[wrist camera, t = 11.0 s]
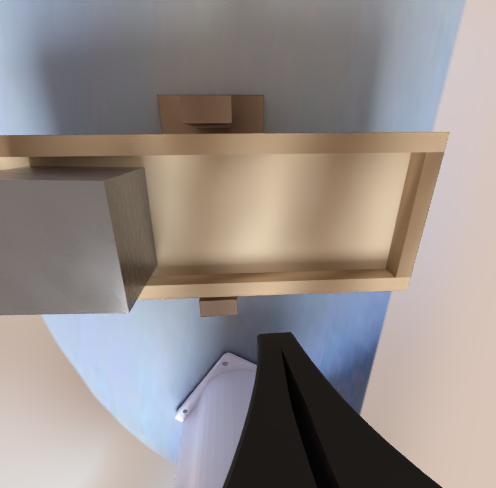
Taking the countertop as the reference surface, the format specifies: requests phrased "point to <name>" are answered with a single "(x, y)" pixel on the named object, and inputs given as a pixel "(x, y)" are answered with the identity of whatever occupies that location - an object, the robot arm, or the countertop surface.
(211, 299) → the stand
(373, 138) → the beam
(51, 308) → the block
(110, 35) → the countertop surface
